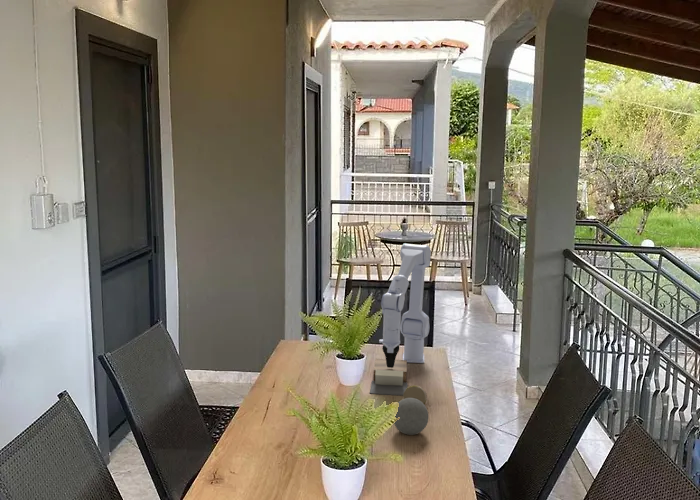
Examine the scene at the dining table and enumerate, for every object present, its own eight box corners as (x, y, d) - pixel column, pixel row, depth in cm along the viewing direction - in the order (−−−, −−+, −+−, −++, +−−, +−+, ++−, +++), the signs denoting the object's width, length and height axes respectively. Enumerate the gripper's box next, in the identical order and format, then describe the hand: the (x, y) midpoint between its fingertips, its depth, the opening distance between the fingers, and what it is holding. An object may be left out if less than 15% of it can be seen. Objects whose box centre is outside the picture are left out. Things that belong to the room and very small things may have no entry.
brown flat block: (375, 369, 233) (375, 358, 232) (406, 371, 232) (406, 360, 231) (373, 381, 221) (373, 370, 220) (405, 383, 220) (406, 372, 219)
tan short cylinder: (430, 400, 207) (434, 379, 201) (419, 422, 200) (423, 402, 194) (408, 390, 209) (412, 370, 203) (396, 413, 203) (400, 392, 196)
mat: (371, 381, 221) (371, 380, 221) (407, 383, 220) (407, 382, 220) (369, 393, 210) (369, 392, 210) (407, 395, 209) (407, 395, 209)
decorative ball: (405, 422, 190) (407, 389, 188) (434, 432, 183) (436, 399, 181) (384, 433, 182) (385, 399, 180) (414, 444, 176) (415, 409, 174)
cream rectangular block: (375, 369, 215) (375, 375, 213) (403, 371, 214) (402, 376, 212) (375, 378, 219) (375, 384, 218) (402, 380, 218) (402, 385, 217)
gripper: (380, 321, 227) (379, 359, 229) (378, 333, 213) (377, 373, 215) (401, 322, 226) (399, 360, 229) (400, 334, 212) (398, 374, 214)
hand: (390, 366), depth 222 cm, fingers closed
